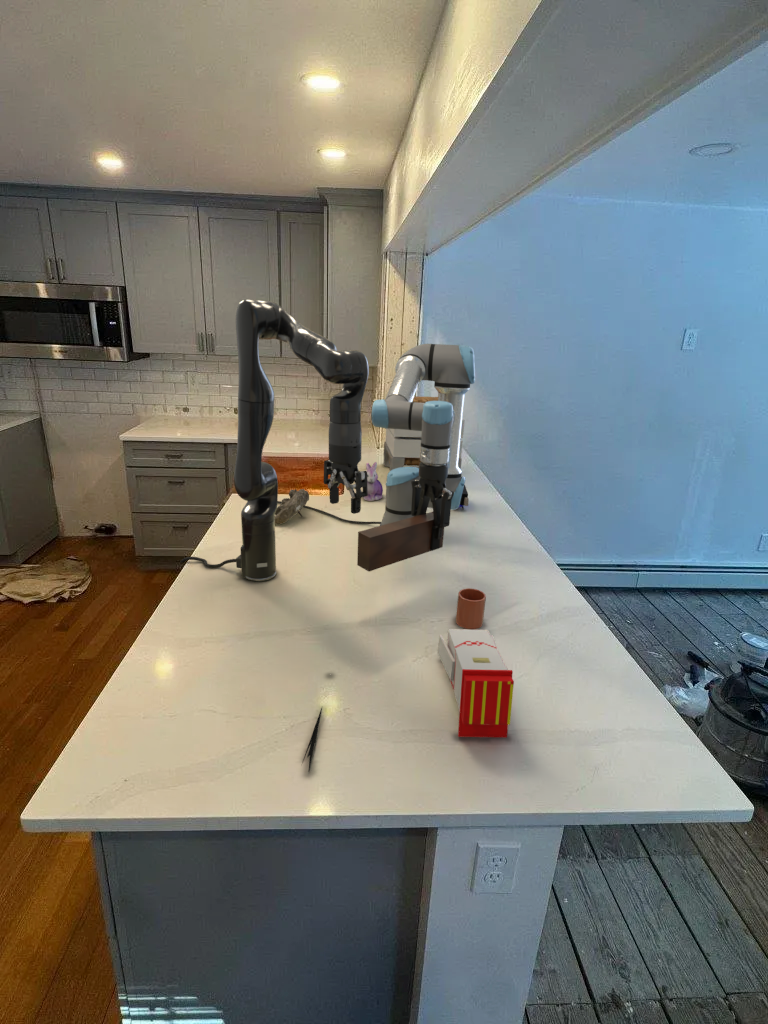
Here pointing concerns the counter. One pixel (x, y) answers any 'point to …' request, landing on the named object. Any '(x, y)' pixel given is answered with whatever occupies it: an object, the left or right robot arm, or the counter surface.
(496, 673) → the toy
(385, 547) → the walnut box
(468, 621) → the terracotta cup
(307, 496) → the fossil
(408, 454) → the light grey boxy piece
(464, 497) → the figurine character
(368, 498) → the figurine
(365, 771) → the counter surface
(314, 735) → the feather
